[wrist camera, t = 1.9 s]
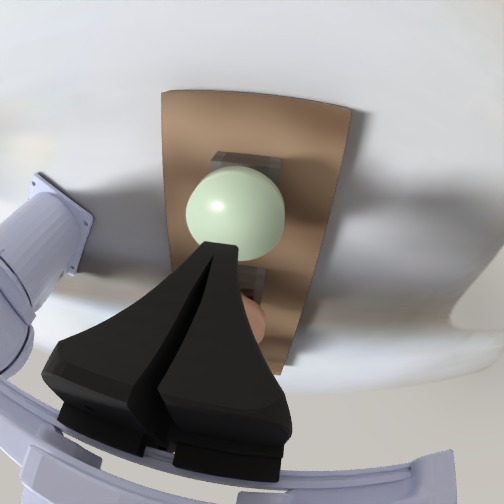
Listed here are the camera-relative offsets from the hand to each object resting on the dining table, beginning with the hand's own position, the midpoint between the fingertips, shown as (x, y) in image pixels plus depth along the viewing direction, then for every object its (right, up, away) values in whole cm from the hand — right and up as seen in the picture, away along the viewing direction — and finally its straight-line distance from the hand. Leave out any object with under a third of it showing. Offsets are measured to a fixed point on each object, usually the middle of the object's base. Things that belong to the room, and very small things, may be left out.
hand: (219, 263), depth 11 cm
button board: (0, -1, +13) cm, 13 cm away
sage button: (+1, +4, +5) cm, 6 cm away
